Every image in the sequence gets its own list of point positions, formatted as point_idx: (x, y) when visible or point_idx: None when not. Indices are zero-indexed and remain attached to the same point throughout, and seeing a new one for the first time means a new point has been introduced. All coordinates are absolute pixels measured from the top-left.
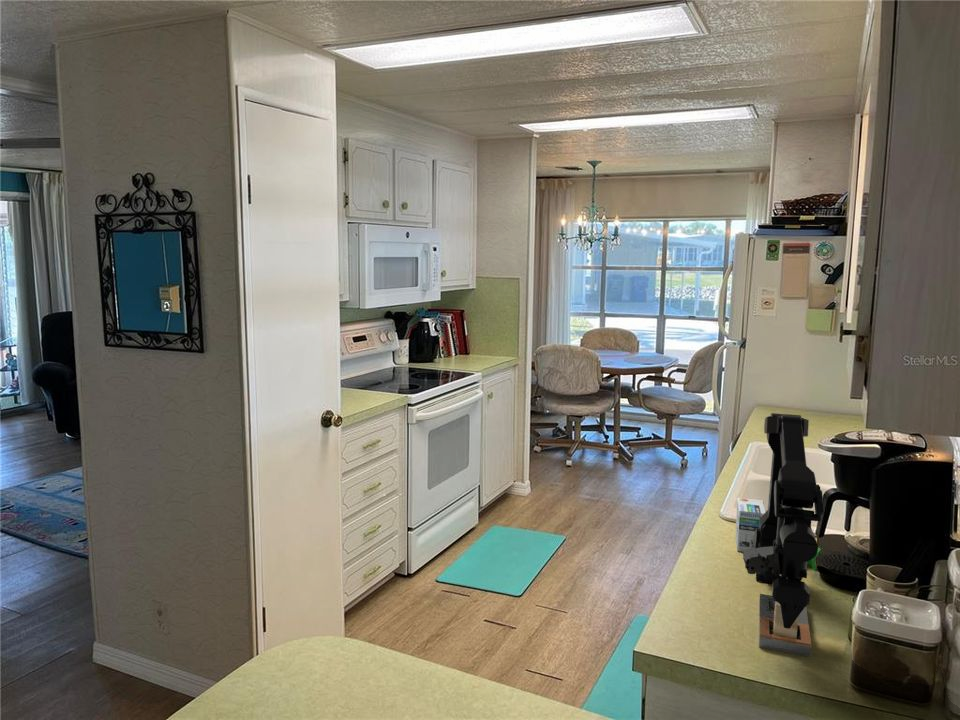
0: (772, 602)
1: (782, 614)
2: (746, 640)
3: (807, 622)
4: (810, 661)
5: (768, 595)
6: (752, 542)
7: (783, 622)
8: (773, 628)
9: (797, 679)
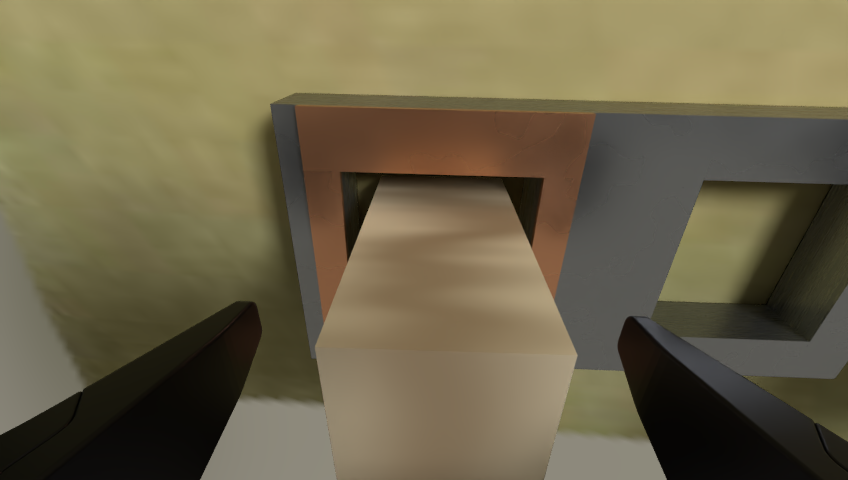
0: None
1: (96, 386)
2: (346, 6)
3: (575, 365)
4: (290, 319)
5: None
6: None
7: (196, 328)
8: (465, 196)
9: (100, 261)
